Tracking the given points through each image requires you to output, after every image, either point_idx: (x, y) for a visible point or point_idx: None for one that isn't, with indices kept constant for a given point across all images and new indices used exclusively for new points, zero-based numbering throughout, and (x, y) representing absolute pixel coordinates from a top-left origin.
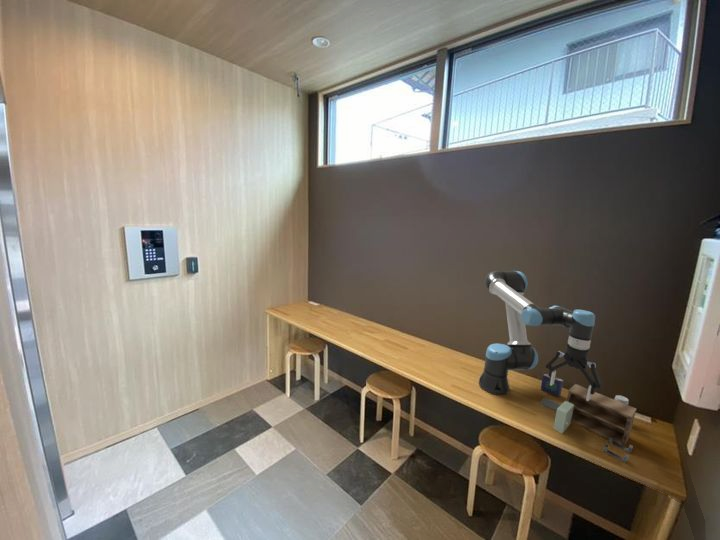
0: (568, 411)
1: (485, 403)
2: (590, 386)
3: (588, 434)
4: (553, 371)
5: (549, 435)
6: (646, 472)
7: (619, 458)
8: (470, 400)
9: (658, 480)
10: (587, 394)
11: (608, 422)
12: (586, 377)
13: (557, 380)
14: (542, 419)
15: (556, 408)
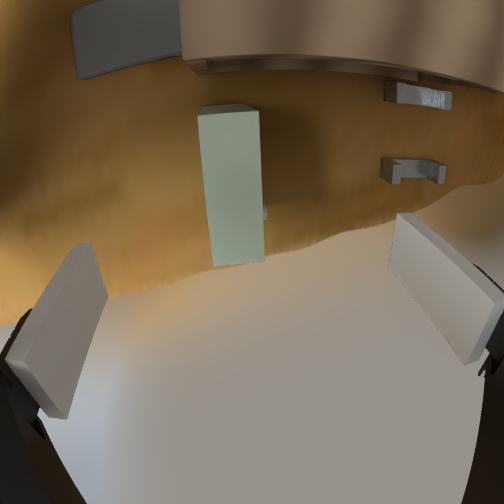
0: (262, 220)
1: (17, 300)
2: (477, 352)
3: (320, 111)
4: (39, 399)
5: None
6: (465, 169)
7: (419, 176)
8: (2, 324)
9: (480, 178)
10: (419, 303)
11: (407, 69)
12: (481, 452)
13: None
14: (153, 191)
15: (146, 43)
